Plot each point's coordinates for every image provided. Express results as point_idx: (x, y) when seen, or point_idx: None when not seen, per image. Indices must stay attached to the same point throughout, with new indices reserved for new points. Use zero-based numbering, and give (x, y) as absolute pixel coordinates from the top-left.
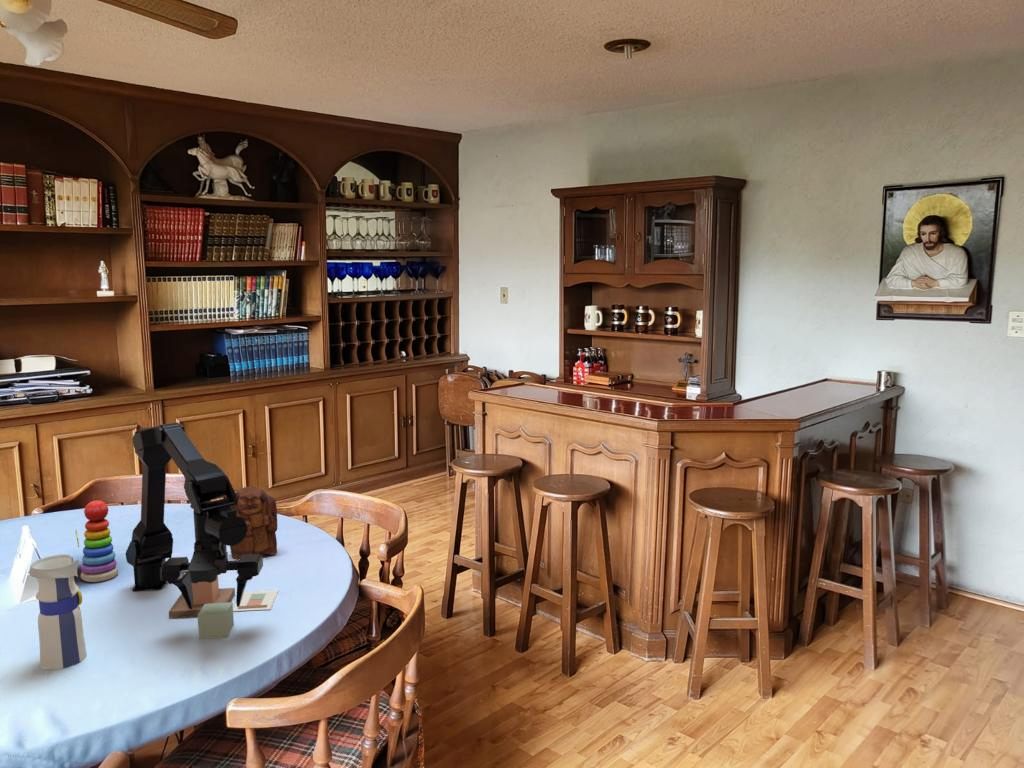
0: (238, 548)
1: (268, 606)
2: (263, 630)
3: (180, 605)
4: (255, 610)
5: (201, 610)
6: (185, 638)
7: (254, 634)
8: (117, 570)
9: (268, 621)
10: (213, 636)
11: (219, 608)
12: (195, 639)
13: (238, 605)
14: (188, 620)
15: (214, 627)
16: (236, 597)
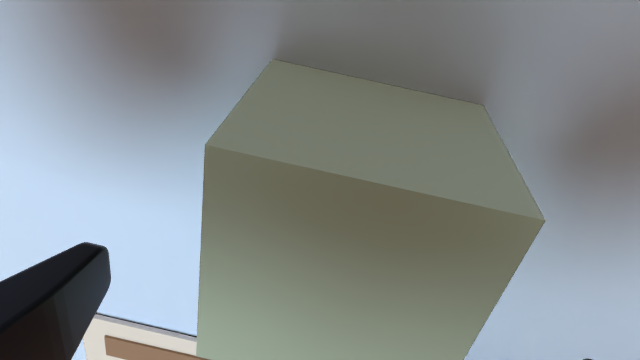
0: None
1: (97, 339)
2: (34, 76)
3: None
4: (158, 329)
5: (480, 312)
6: (579, 144)
7: (79, 30)
8: None
9: (47, 192)
10: (376, 85)
11: (298, 290)
12: (511, 101)
13: (79, 248)
14: (508, 355)
15: (361, 112)
16: (10, 326)
